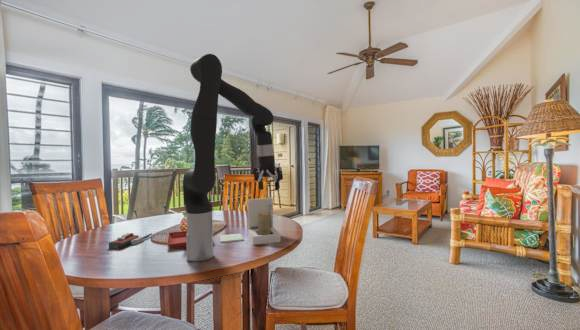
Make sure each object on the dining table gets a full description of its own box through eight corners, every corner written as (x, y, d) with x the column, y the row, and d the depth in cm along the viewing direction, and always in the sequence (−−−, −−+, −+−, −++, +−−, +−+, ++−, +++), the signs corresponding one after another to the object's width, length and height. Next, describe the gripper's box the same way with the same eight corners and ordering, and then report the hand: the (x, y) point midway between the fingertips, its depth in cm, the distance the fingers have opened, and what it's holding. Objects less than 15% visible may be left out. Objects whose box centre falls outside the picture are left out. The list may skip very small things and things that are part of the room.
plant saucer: (213, 246, 117) (212, 238, 117) (166, 252, 110) (166, 243, 110) (209, 235, 134) (208, 228, 134) (168, 239, 127) (168, 232, 127)
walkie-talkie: (125, 251, 112) (153, 237, 132) (124, 240, 112) (153, 227, 132) (105, 250, 113) (136, 236, 133) (104, 240, 113) (136, 227, 133)
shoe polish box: (270, 238, 125) (269, 212, 125) (269, 241, 120) (269, 214, 120) (259, 238, 125) (258, 212, 125) (258, 242, 120) (258, 214, 120)
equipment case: (253, 245, 116) (252, 203, 116) (248, 235, 130) (247, 199, 130) (280, 242, 119) (279, 202, 119) (272, 233, 133) (272, 197, 133)
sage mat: (220, 242, 120) (220, 241, 120) (219, 236, 130) (219, 235, 130) (243, 240, 123) (243, 239, 123) (240, 234, 132) (240, 233, 132)
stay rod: (270, 227, 130) (270, 204, 130) (269, 226, 132) (269, 204, 132) (272, 227, 131) (272, 204, 131) (271, 226, 132) (271, 204, 132)
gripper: (248, 156, 125) (252, 191, 126) (274, 154, 118) (278, 191, 120) (257, 154, 131) (261, 188, 133) (283, 153, 124) (286, 188, 126)
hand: (269, 189), depth 126 cm, fingers open, 8 cm apart
